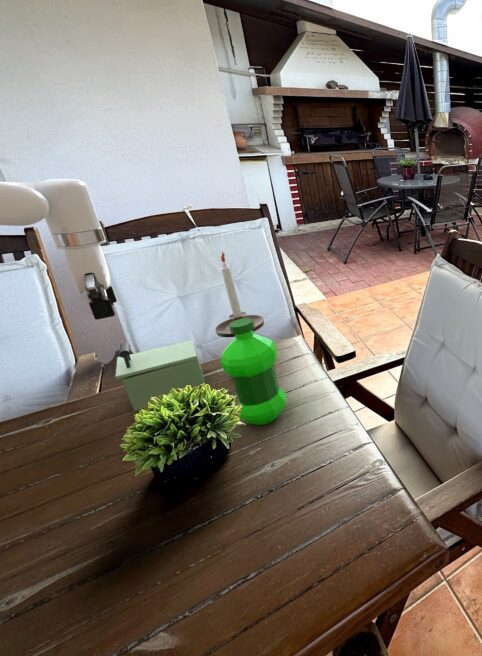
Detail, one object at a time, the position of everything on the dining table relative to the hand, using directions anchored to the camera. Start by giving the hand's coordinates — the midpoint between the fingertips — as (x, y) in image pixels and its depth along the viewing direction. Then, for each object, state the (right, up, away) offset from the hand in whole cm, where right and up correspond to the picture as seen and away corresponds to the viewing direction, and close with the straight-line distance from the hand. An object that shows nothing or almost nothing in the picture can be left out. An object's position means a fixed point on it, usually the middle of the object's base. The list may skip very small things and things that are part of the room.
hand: (106, 310), depth 91 cm
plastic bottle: (+35, -26, +3) cm, 43 cm away
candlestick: (+20, -19, +21) cm, 34 cm away
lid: (+4, -13, +9) cm, 16 cm away
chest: (+4, -22, +12) cm, 25 cm away
